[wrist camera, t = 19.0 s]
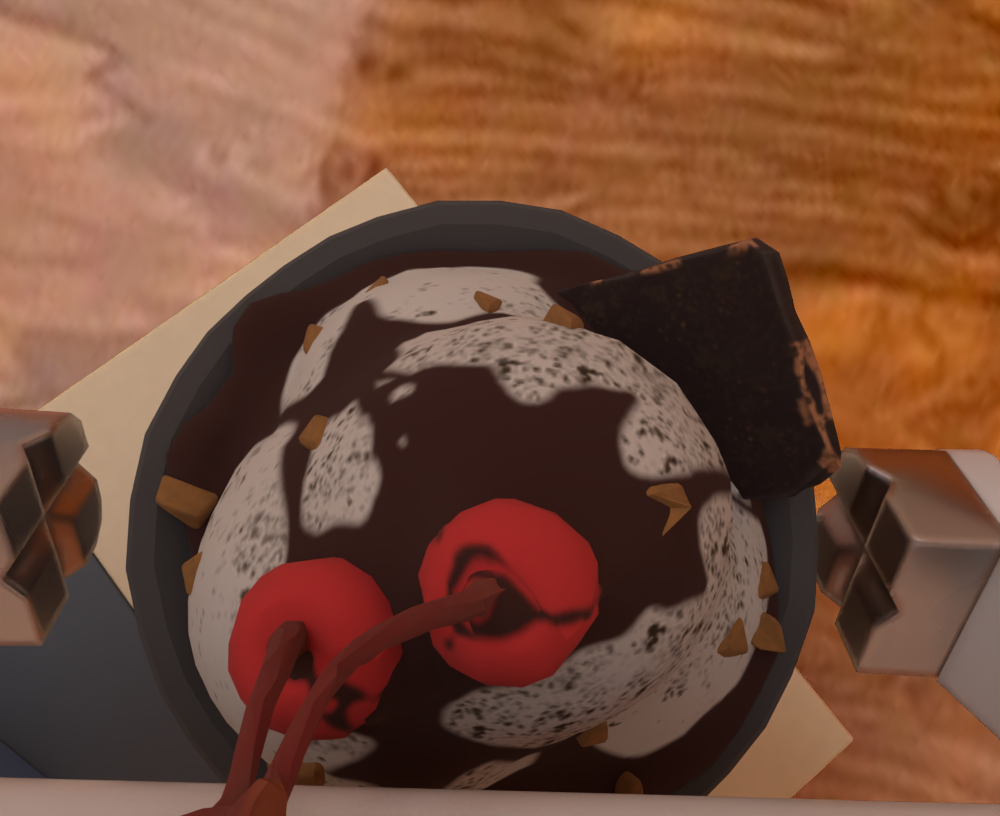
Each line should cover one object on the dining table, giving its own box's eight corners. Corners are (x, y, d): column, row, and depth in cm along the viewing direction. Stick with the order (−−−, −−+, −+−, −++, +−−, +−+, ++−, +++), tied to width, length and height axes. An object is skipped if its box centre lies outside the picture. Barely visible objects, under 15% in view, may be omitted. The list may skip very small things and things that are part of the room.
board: (-398, 736, 18) (-448, 745, 17) (389, 185, 21) (386, 165, 20) (38, 1462, 16) (10, 1520, 15) (835, 732, 19) (856, 740, 18)
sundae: (291, 715, 17) (-576, 1418, 3) (325, 390, 19) (-146, -289, 4) (617, 734, 18) (1394, 1477, 3) (628, 411, 19) (1205, -162, 4)
